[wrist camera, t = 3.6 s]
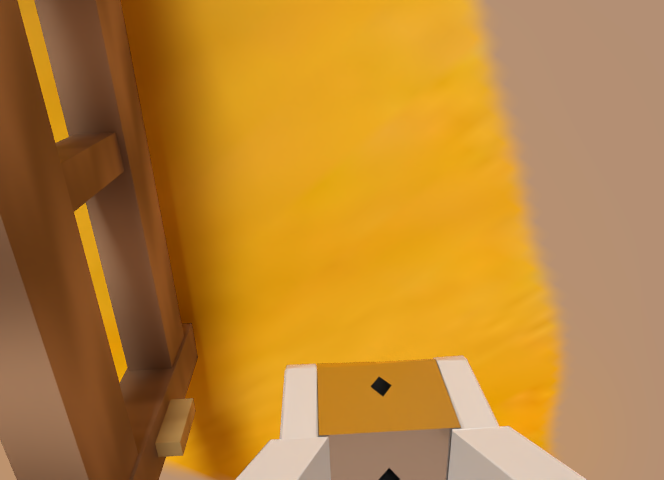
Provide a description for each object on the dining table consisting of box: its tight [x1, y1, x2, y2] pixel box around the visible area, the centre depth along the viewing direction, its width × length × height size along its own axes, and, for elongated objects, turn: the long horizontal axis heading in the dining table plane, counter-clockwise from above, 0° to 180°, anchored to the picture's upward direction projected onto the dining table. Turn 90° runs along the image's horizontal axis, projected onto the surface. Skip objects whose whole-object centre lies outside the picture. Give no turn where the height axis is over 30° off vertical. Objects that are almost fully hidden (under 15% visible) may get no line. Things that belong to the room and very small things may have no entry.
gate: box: [0, 0, 198, 480], centre depth 13 cm, size 20×3×10 cm, turn 2°
